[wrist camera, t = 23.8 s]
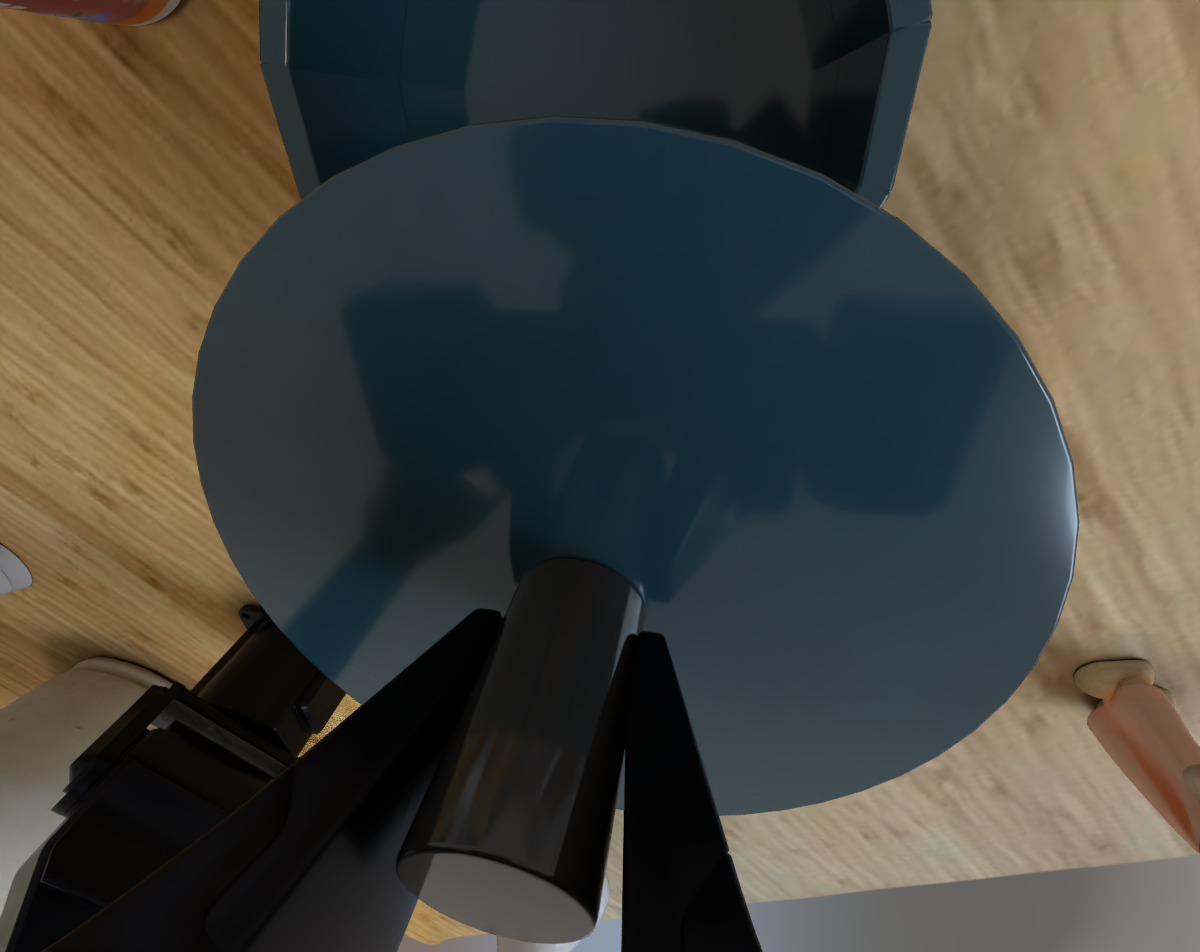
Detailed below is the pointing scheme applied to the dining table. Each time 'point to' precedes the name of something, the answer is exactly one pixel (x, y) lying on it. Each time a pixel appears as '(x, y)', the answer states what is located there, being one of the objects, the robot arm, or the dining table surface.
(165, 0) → the pill bottle
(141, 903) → the robot arm
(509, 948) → the flower vase
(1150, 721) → the grandmother figurine
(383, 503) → the lid
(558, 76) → the pot
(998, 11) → the dining table surface
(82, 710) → the jug
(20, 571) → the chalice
